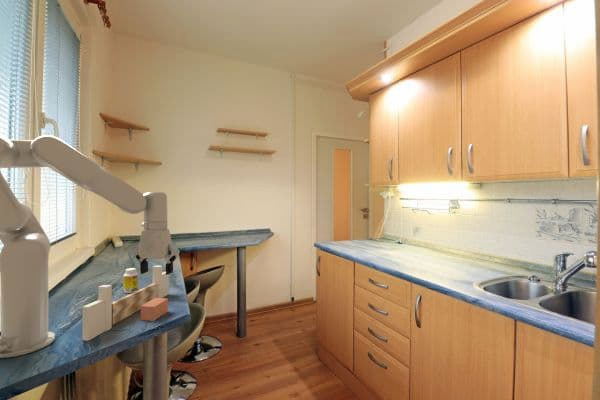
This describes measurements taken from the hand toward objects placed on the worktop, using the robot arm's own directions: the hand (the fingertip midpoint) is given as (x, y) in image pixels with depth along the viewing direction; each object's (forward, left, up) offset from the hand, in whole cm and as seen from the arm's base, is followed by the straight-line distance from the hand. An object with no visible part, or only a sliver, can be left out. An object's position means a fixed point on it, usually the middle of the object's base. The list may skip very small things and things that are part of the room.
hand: (156, 273), depth 100 cm
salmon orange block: (0, 0, -15) cm, 15 cm away
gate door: (+1, +9, -15) cm, 18 cm away
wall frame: (+2, +9, -15) cm, 18 cm away
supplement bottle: (+22, +27, -15) cm, 38 cm away
